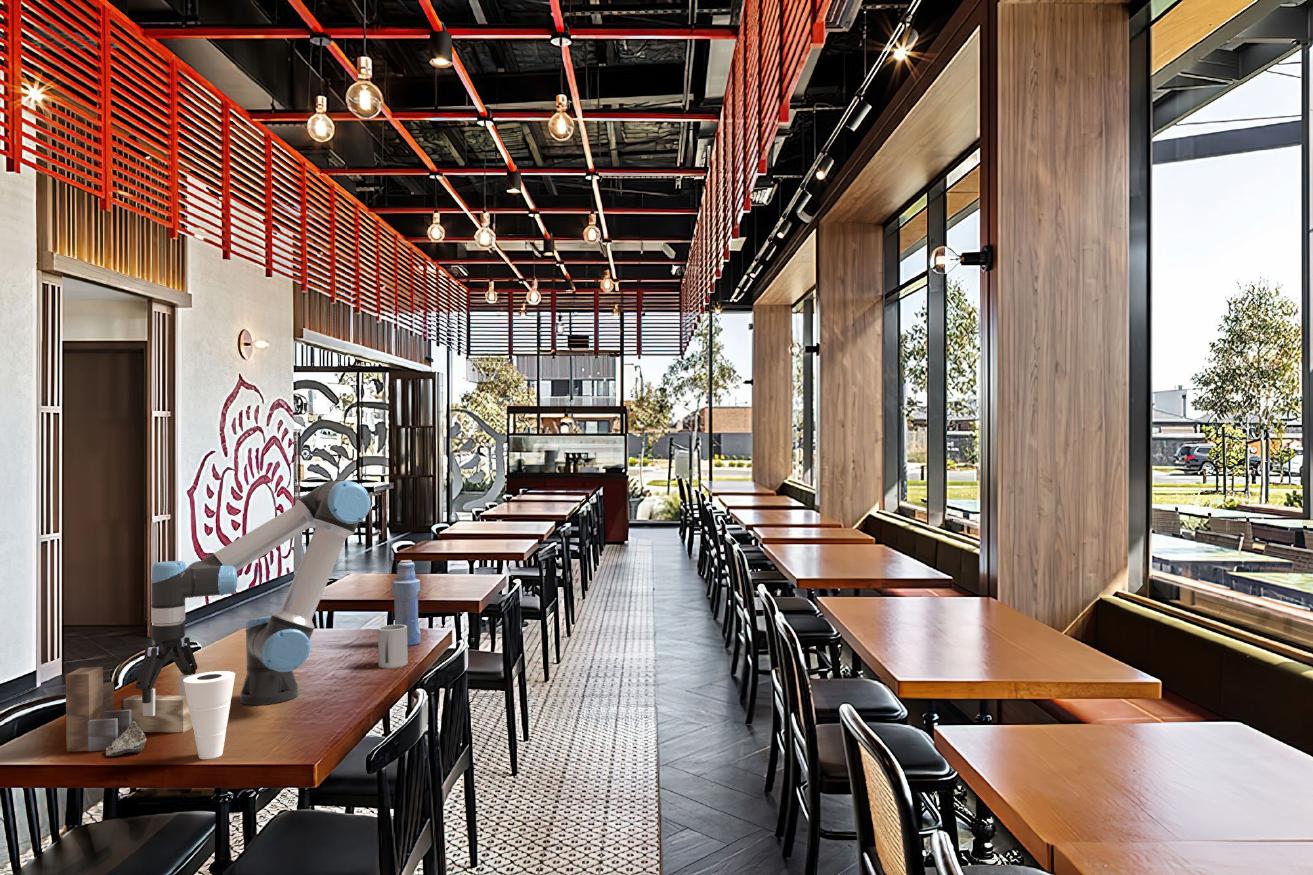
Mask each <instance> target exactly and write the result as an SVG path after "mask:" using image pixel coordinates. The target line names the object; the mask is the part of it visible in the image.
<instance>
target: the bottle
mask: <svg viewBox="0 0 1313 875" xmlns="http://www.w3.org/2000/svg"><path fill="white" fill-rule="evenodd" d="M415 567H416V566H415V562H413V561H412V560H411V559H408V560H407V559H405V560H403V559H402V560H400V561H399V563H397V572H396V573H397V574H396V579H394V580H392V582H391V583H392V586H391V588H392V590H391V591H392V596H393V600H394V625H406V626H407V647H413V646H417V645H419V644H421V641H422V640H421V639H422V638H421V637H422V636H421V634H422V633H421V629H420V627H419V626H420V625H419V594H420V592H421V580H420V579H419V578H416V572H415Z"/></svg>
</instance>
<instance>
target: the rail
mask: <svg viewBox="0 0 1313 875" xmlns="http://www.w3.org/2000/svg"><path fill="white" fill-rule="evenodd" d="M129 709H131V722H134V721H135V722H136V723H137V725H138V727H140V729H141V730H142V731H143V733H185V732H187V731H189V730H191V729H193V726H192V721H191V716H190V711H189V705H188V702H187V697H186V696H179V695H163V694H162V695H160V694H158V695H157V694H155V715H154V716H143V703H142V694H133V695H129V696H127V697H125V698H122V699H121V710H129Z"/></svg>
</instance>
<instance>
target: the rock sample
mask: <svg viewBox="0 0 1313 875" xmlns="http://www.w3.org/2000/svg"><path fill="white" fill-rule="evenodd" d="M147 740H148V739H147V737H146V734H145V732H143V731H142V730H141V729H140V727H138V725H137V723H136V722H135V721H134V722H132V723H131V724H130V725H129V726H128V728H127V729H126V730H125V732H124V733H123V734H122V735H121V736H120V737H119V738H118V739H116V740H115V741H113V742H112V744H111V745H110V746H109V747H108V748H106V750H105V756H106V757H108V756H109V757H115V756H121V755H125V754H127V753H132V754H133V753H140V752H142V751H143V750H144V749H145V747H144V746H145V744H146V741H147Z"/></svg>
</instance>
